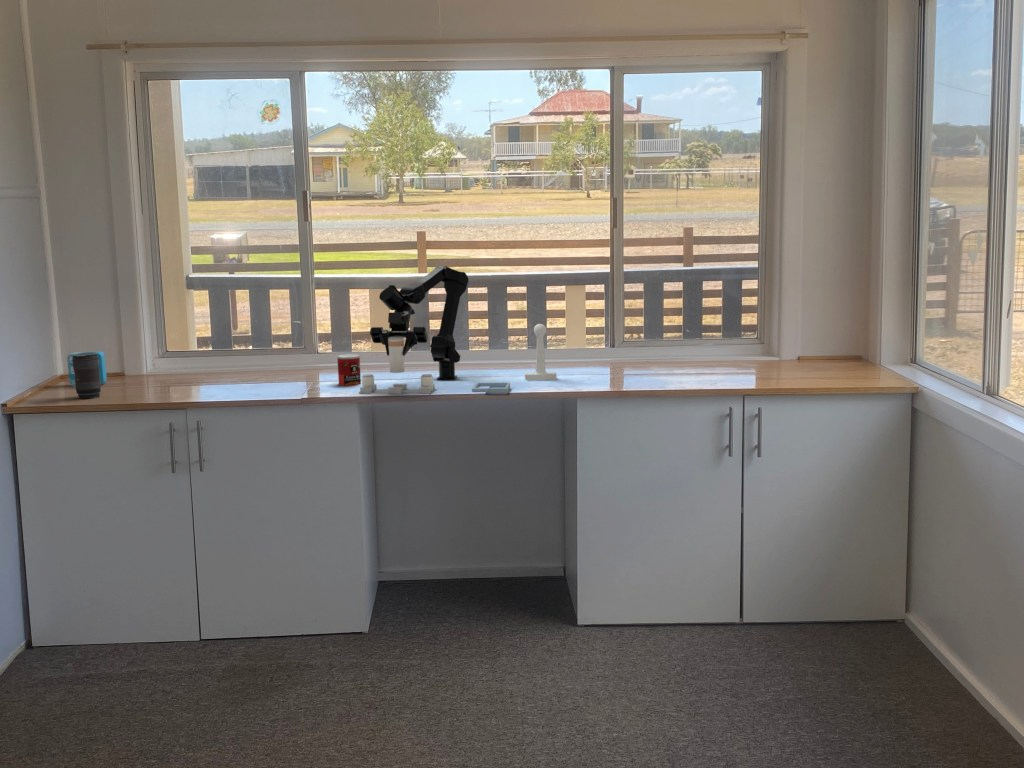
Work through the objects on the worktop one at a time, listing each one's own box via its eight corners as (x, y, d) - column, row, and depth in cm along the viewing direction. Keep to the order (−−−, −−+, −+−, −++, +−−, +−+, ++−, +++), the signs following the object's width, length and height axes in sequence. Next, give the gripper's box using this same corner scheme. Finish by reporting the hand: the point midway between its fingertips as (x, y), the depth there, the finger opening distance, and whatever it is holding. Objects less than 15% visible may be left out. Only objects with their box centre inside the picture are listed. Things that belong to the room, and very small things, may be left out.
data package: (69, 386, 368) (66, 354, 366) (73, 384, 372) (70, 352, 370) (104, 385, 369) (101, 352, 367) (107, 383, 374) (104, 351, 372)
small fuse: (422, 390, 340) (421, 373, 339) (434, 390, 339) (433, 373, 338) (420, 392, 336) (419, 375, 335) (432, 392, 335) (431, 375, 334)
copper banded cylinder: (391, 370, 341) (389, 336, 339) (406, 370, 340) (405, 335, 338) (388, 372, 336) (386, 338, 334) (403, 372, 335) (402, 337, 333)
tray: (476, 388, 346) (476, 382, 346) (510, 388, 345) (510, 382, 345) (472, 394, 335) (472, 388, 335) (507, 394, 334) (507, 388, 334)
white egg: (364, 390, 342) (363, 374, 341) (375, 390, 342) (375, 373, 341) (361, 392, 338) (360, 375, 337) (373, 392, 338) (372, 375, 337)
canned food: (345, 389, 350) (343, 358, 348) (334, 386, 356) (333, 355, 355) (365, 386, 354) (363, 355, 353) (354, 384, 361) (353, 353, 359)
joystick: (525, 381, 359) (524, 325, 356) (524, 377, 367) (523, 322, 363) (556, 380, 360) (556, 324, 357) (554, 376, 367) (553, 321, 364)
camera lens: (71, 398, 344) (66, 354, 342) (92, 394, 351) (88, 351, 348) (85, 400, 340) (81, 356, 337) (106, 396, 346) (102, 352, 344)
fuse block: (364, 391, 345) (364, 383, 344) (437, 391, 342) (437, 383, 341) (357, 396, 336) (357, 388, 336) (432, 396, 333) (431, 388, 333)
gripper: (369, 303, 339) (362, 340, 330) (424, 302, 337) (419, 340, 328) (376, 323, 348) (370, 360, 339) (430, 323, 346) (424, 360, 337)
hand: (395, 354), depth 336 cm, fingers closed on copper banded cylinder, 5 cm apart
